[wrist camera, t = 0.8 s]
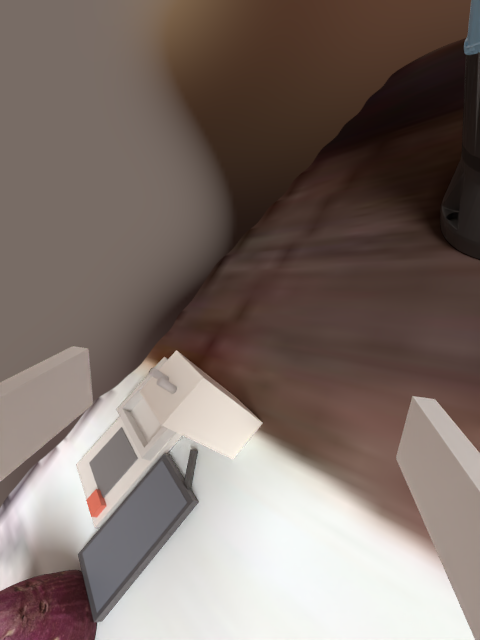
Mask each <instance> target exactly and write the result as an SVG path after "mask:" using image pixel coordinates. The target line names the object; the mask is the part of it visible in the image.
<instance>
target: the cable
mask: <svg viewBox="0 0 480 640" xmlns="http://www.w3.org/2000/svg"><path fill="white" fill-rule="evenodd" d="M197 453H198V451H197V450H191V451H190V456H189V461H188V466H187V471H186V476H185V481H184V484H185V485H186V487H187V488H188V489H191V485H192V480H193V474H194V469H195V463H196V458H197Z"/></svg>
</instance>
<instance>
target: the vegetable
mask: <svg viewBox="0 0 480 640" xmlns="http://www.w3.org/2000/svg"><path fill="white" fill-rule="evenodd" d="M96 625H97V622H94V620H93V616H92V612H91V608H90V603H89V599H88V595H87V591H86V586H85V582H84V578H83V574H82V572H81V571H79V570H69V571H62V572H57V573H52V574H45V575H41V576H37V577H33V578H30V579H28V580H25V581H22V582H19V583H17V584H14V585H12V586H10V587H8V588H6V589H4V590H2V591H0V640H94V639H95V634H96Z"/></svg>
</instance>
